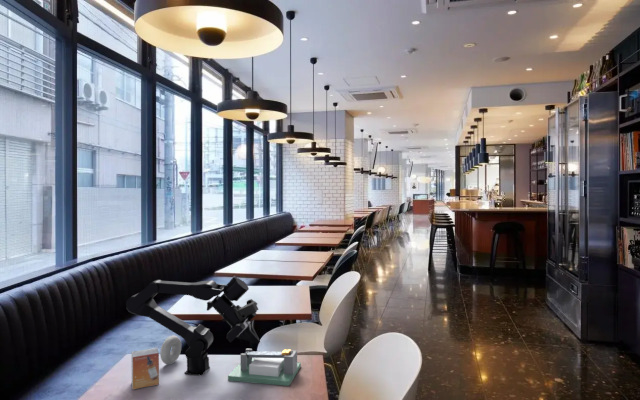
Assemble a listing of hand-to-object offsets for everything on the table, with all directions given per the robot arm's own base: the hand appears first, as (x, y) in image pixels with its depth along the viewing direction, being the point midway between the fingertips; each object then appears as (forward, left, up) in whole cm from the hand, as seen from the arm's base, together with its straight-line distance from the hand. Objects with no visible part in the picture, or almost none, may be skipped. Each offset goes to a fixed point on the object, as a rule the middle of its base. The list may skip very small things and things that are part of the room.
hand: (259, 342), depth 141 cm
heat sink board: (+2, 0, -10) cm, 11 cm away
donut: (-34, +1, -10) cm, 36 cm away
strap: (+3, 0, -5) cm, 5 cm away
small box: (-34, -15, -11) cm, 38 cm away
